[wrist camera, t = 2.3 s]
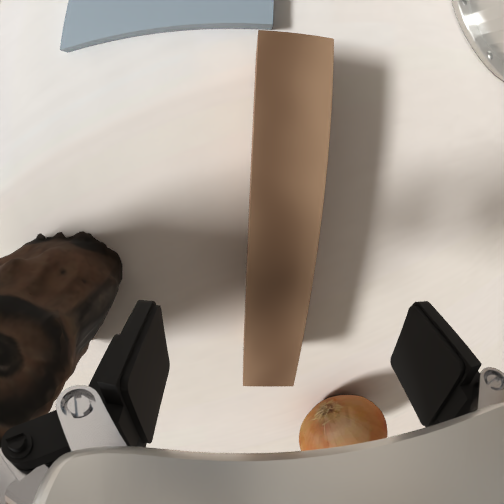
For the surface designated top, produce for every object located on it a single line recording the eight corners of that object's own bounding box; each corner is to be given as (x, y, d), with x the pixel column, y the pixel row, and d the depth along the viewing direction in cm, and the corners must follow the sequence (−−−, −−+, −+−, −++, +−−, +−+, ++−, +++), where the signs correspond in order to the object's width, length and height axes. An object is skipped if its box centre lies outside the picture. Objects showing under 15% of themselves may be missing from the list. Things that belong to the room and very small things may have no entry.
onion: (322, 432, 33) (334, 494, 24) (277, 405, 30) (283, 481, 21) (385, 398, 31) (409, 461, 22) (350, 364, 28) (377, 442, 19)
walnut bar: (313, 59, 17) (333, 38, 12) (286, 342, 27) (293, 386, 22) (256, 54, 17) (258, 30, 12) (243, 341, 27) (242, 385, 22)
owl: (9, 259, 23) (-112, 379, 4) (60, 172, 20) (-149, 292, 1) (87, 343, 27) (10, 500, 8) (159, 281, 24) (60, 521, 5)
